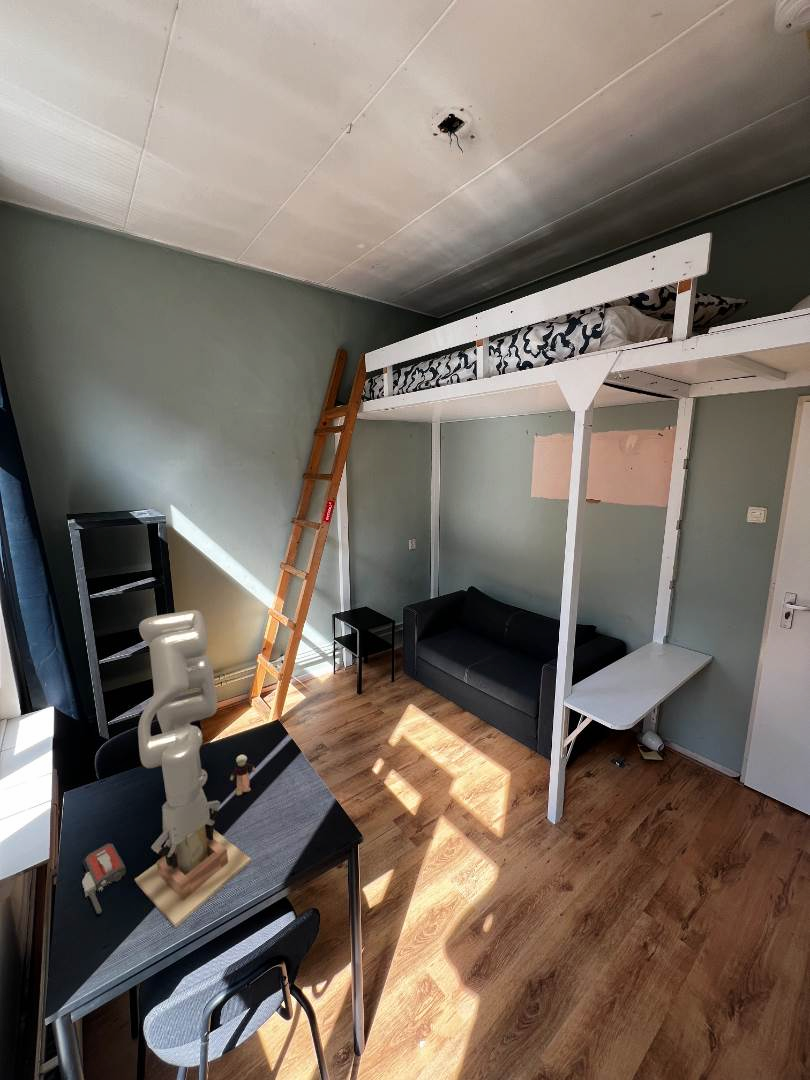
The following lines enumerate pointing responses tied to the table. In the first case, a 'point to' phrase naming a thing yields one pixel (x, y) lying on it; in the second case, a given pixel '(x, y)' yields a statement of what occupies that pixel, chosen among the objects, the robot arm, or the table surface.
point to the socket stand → (192, 880)
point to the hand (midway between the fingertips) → (191, 851)
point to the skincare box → (192, 850)
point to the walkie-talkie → (101, 871)
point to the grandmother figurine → (242, 774)
